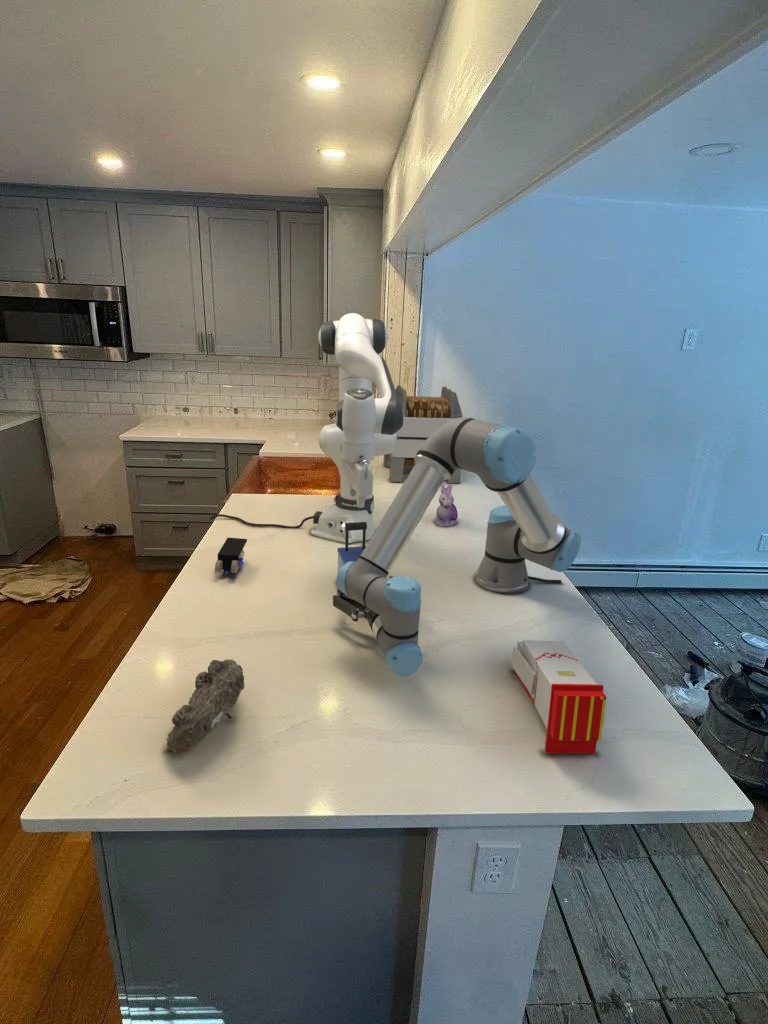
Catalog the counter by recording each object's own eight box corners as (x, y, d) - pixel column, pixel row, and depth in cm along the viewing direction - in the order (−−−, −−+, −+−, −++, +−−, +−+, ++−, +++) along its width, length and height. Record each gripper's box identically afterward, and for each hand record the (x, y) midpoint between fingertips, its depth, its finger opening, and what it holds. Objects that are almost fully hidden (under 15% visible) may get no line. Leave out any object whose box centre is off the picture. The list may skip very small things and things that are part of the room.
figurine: (442, 528, 206) (446, 489, 201) (428, 519, 214) (431, 481, 209) (464, 525, 210) (468, 486, 205) (449, 516, 218) (452, 479, 213)
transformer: (382, 463, 289) (386, 382, 275) (445, 464, 293) (451, 384, 279) (390, 482, 257) (394, 392, 243) (460, 483, 261) (468, 394, 247)
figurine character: (238, 584, 162) (249, 557, 175) (236, 562, 158) (247, 536, 172) (215, 584, 161) (227, 556, 175) (212, 561, 158) (225, 535, 171)
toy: (559, 623, 127) (616, 692, 98) (553, 678, 130) (607, 761, 101) (505, 622, 127) (547, 691, 98) (501, 677, 130) (540, 760, 100)
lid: (337, 551, 161) (337, 520, 158) (369, 549, 163) (370, 518, 160) (350, 579, 145) (351, 545, 142) (385, 576, 147) (387, 543, 144)
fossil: (192, 660, 117) (244, 628, 112) (224, 691, 120) (276, 661, 115) (142, 746, 98) (202, 712, 93) (182, 779, 101) (242, 748, 96)
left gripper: (379, 461, 142) (377, 513, 146) (361, 442, 160) (359, 489, 165) (354, 462, 140) (353, 514, 145) (339, 443, 158) (338, 490, 163)
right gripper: (333, 645, 127) (318, 600, 146) (437, 633, 134) (410, 591, 153) (333, 615, 125) (318, 573, 144) (439, 605, 131) (411, 566, 150)
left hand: (356, 501), depth 155 cm, fingers open, 8 cm apart
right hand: (365, 582), depth 149 cm, fingers open, 13 cm apart
